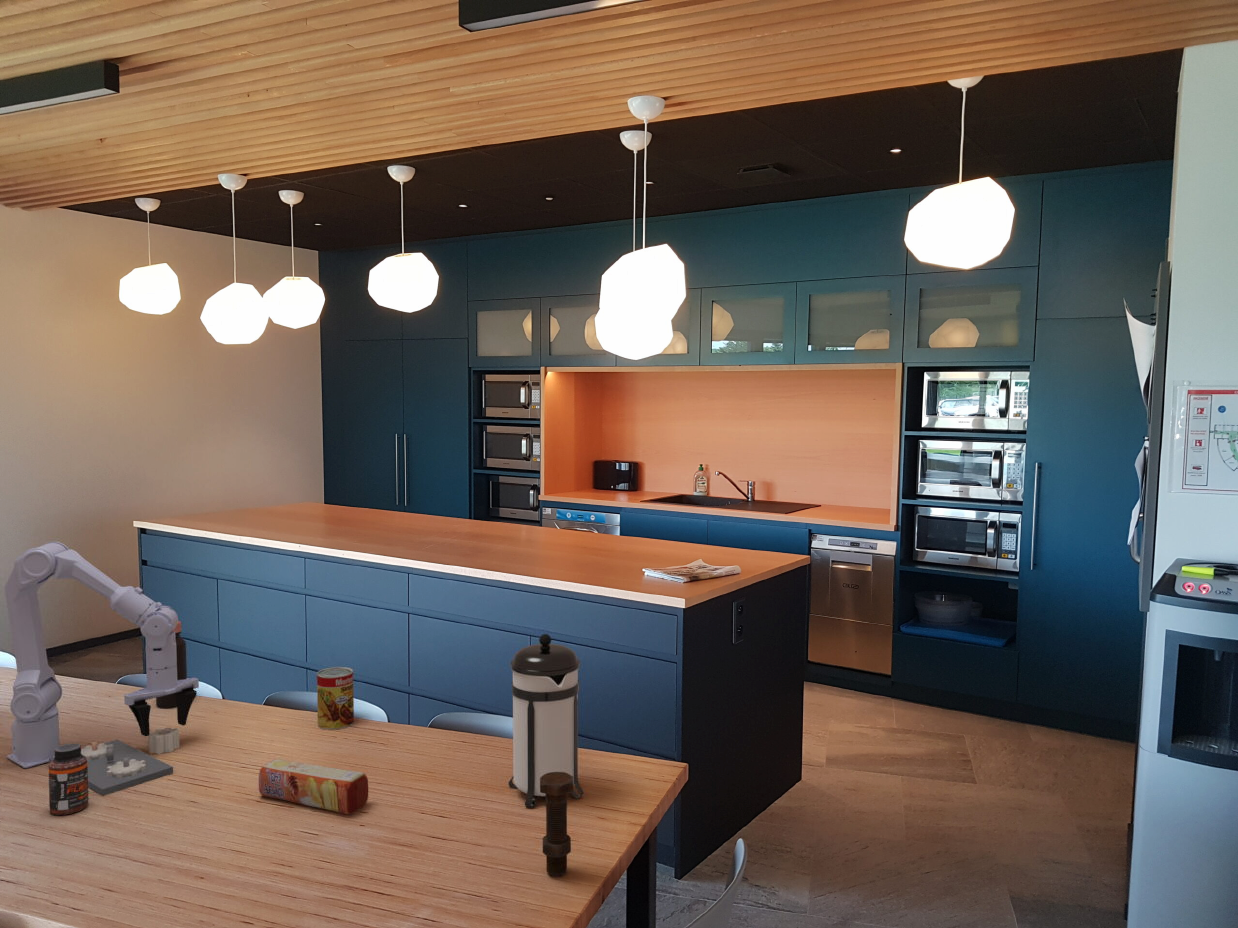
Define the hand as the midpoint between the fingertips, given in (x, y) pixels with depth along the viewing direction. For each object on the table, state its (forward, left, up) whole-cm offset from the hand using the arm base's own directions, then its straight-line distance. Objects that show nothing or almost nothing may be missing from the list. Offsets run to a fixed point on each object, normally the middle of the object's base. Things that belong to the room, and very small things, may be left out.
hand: (163, 729), depth 186 cm
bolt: (+99, +12, -4) cm, 100 cm away
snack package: (+47, +4, -5) cm, 47 cm away
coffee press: (+77, +33, -4) cm, 84 cm away
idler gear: (0, 0, -4) cm, 4 cm away
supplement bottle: (+15, -24, -4) cm, 29 cm away
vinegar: (-27, +15, -4) cm, 31 cm away
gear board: (+2, -12, -4) cm, 12 cm away
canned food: (+16, +31, -4) cm, 35 cm away
